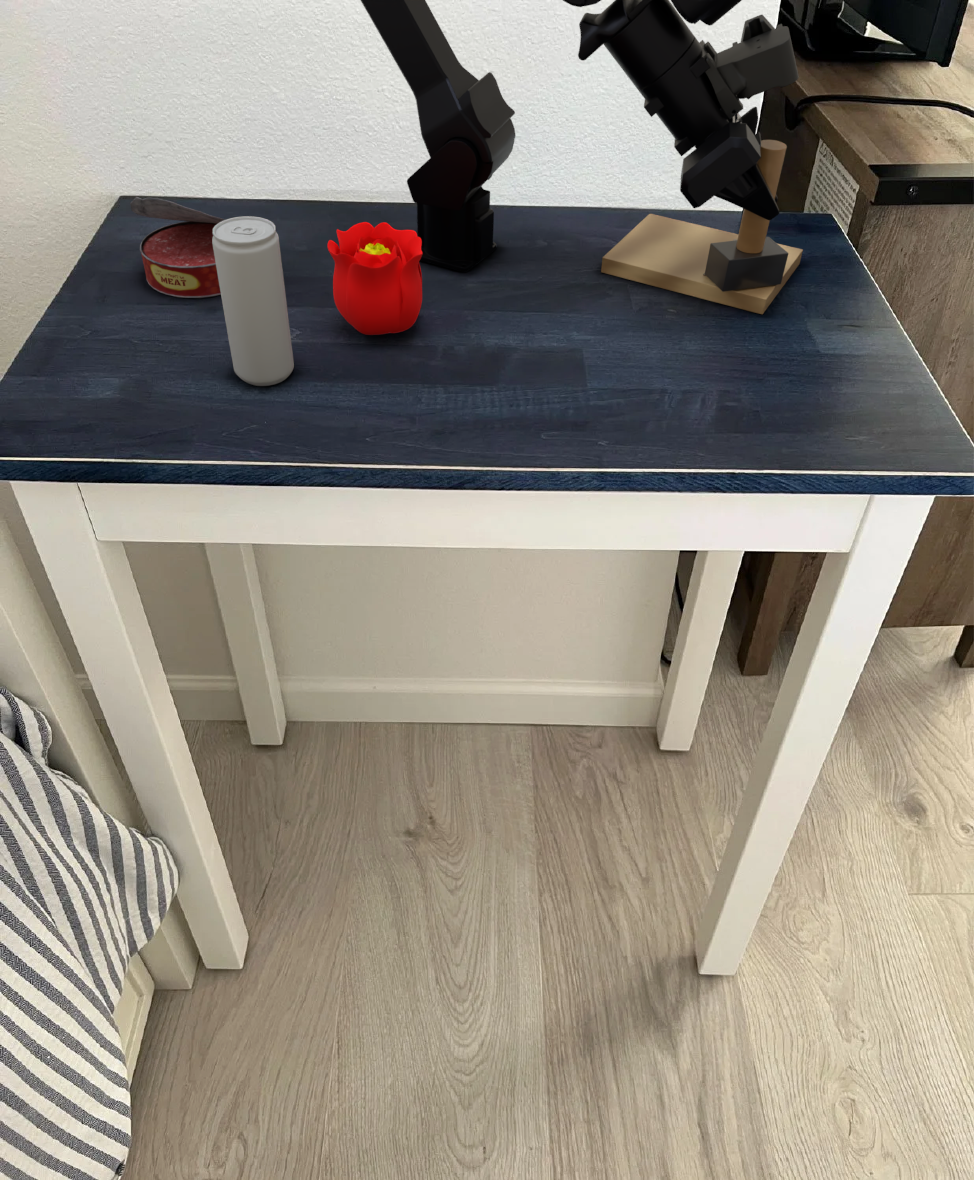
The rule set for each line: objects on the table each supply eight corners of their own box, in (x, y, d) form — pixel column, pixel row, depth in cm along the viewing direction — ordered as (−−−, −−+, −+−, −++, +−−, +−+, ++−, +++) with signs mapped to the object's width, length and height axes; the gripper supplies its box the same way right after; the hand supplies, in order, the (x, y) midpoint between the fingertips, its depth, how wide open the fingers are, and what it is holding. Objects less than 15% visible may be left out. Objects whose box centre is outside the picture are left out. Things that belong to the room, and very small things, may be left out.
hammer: (722, 292, 91) (751, 155, 82) (704, 274, 93) (730, 139, 85) (781, 284, 92) (814, 149, 84) (761, 267, 95) (792, 134, 86)
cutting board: (600, 272, 96) (602, 256, 95) (647, 227, 104) (650, 212, 103) (762, 314, 91) (766, 298, 90) (799, 264, 99) (803, 248, 98)
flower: (433, 311, 90) (432, 224, 85) (416, 355, 84) (414, 264, 79) (347, 303, 91) (340, 216, 85) (324, 346, 85) (316, 255, 80)
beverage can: (282, 392, 80) (263, 246, 72) (225, 384, 80) (199, 239, 72) (303, 361, 83) (286, 219, 75) (247, 354, 84) (225, 212, 76)
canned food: (153, 319, 97) (103, 215, 93) (246, 281, 101) (201, 179, 97) (184, 312, 87) (129, 196, 84) (284, 270, 91) (237, 157, 87)
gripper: (756, 20, 70) (872, 192, 77) (747, -39, 84) (847, 111, 90) (629, 128, 76) (746, 279, 83) (640, 57, 90) (741, 191, 96)
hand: (773, 210), depth 88 cm, fingers closed on hammer, 2 cm apart
